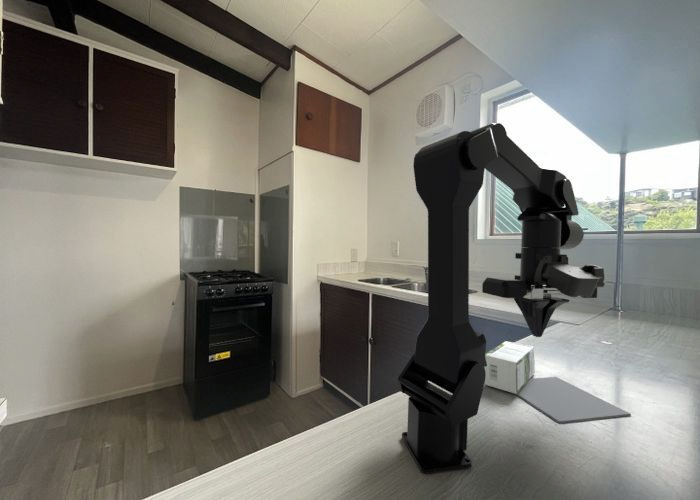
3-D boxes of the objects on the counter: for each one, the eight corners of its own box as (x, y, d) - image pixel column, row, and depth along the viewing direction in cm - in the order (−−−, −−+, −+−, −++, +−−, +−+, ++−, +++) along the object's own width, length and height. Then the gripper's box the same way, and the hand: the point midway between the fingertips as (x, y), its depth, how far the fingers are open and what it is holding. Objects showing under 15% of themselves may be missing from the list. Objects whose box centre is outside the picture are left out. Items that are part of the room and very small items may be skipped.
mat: (559, 423, 42) (559, 421, 42) (497, 382, 55) (497, 380, 55) (630, 415, 45) (630, 413, 45) (555, 378, 57) (555, 376, 57)
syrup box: (483, 384, 53) (504, 365, 63) (518, 395, 49) (535, 372, 59) (483, 354, 53) (504, 340, 64) (518, 362, 49) (534, 345, 59)
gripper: (534, 246, 39) (530, 356, 39) (636, 250, 43) (632, 351, 43) (481, 246, 50) (478, 332, 50) (566, 249, 54) (563, 329, 54)
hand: (536, 336), depth 49 cm, fingers closed
